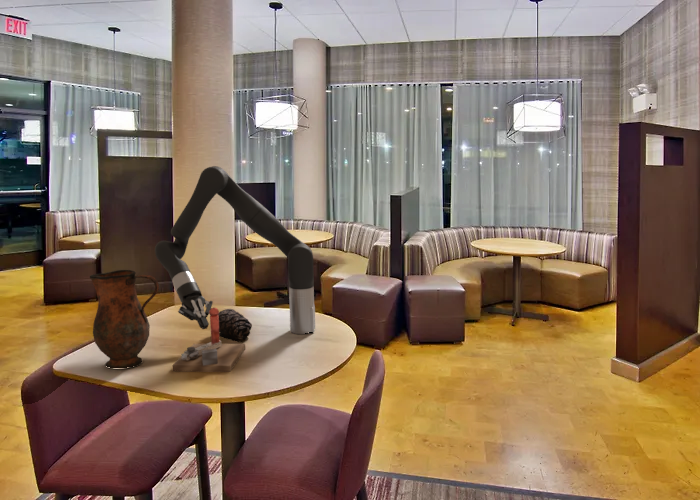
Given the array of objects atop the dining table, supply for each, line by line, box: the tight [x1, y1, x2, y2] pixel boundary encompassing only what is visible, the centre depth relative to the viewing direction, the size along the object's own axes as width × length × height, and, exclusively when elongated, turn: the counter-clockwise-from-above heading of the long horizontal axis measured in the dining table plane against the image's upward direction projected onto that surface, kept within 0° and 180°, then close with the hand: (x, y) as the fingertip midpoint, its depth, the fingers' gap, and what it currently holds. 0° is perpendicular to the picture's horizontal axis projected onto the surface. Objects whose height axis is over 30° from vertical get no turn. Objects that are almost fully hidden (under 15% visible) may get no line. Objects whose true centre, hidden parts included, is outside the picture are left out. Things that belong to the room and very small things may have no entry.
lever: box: [180, 307, 223, 361], centre depth 174 cm, size 16×4×14 cm, turn 150°
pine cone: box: [218, 308, 253, 344], centre depth 198 cm, size 10×18×10 cm, turn 51°
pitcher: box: [89, 269, 160, 369], centre depth 170 cm, size 17×21×30 cm
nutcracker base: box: [171, 343, 247, 373], centre depth 175 cm, size 18×20×6 cm
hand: (205, 327), depth 184 cm, fingers closed
